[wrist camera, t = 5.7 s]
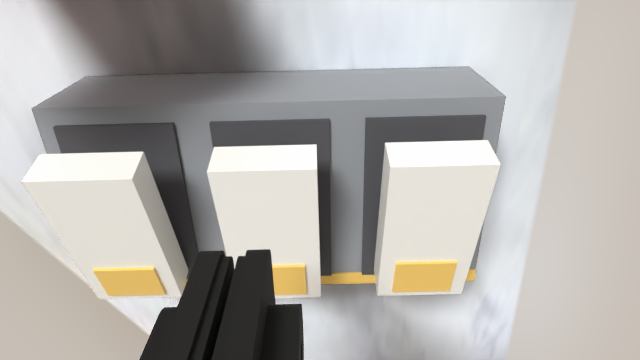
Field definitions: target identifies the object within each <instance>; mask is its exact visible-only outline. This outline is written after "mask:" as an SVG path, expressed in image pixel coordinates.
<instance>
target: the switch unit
mask: <svg viewBox="0 0 640 360" xmlns="http://www.w3.org/2000/svg"><path fill="white" fill-rule="evenodd" d="M505 99H506V96H505V95H504V94H502V93H501V92H500V91H499V90H497V89H496V88H495V87H494V86H492V85H491V84H490V83H489V82H488V81H486V80H485V79H484V78H483V77H481V76H480V75H479V74H478V73H476V72H475V71H474V70H473V69H472V68H470V67H430V68H391V69H352V70H313V71H274V72H235V73H196V74H157V75H118V76H86V77H84V78H82V79H81V80H79V81H77V82H76V83H74V84H72V85H71V86H69V87H67V88H65V89H64V90H62V91H60V92H59V93H57V94H55V95H54V96H52V97H50V98H48V99H47V100H45V101H43V102H42V103H40V104H38V105H37V106H35V107H33V108H31V109H32V112H33V115H34V118H35V121H36V124H37V126H38V129H39V132H40V135H41V138H42V141H43V144H44V147H45V150H46V153H47V154H65V153H105V152H144V154H145V157H146V159H147V162H148V165H149V167H150V170H151V172H152V175H153V178H154V180H155V183H156V186H157V188H158V191H159V194H160V196H161V199H162V201H163V204H164V207H165V209H166V212H167V215H168V217H169V220H170V223H171V225H172V228H173V230H174V233H175V236H176V238H177V241H178V244H179V246H180V249H181V251H182V254H183V257H184V259H185V262H186V265H187V267H188V274H187V278H186V282H185V286H186V283H187V281H188V278H189V276H190V273H191V270H192V268H193V265H194V263H195V260H196V258H197V255H198V253H199V252H200V251H222V250H223V251H224V253H225V256H226V251H225V247H224V243H223V239H222V234H221V230H220V226H219V222H218V217H217V213H216V209H215V205H214V201H213V196H212V192H211V188H210V184H209V179H208V175H207V170H208V166H209V163H210V159H211V156H212V152H213V149H214V147H233V146H273V145H312V144H317V174H318V205H319V237H320V269H321V285H328V284H369V283H375V275H374V262H375V250H376V239H377V228H378V217H379V205H380V194H381V183H382V172H383V160H384V149H385V143H391V142H431V141H471V140H488V141H489V143H490V145H491V147H492V149H493V151H494V153H495V155H496V149H497V144H498V138H499V133H500V127H501V121H502V116H503V110H504V104H505ZM483 223H484V222H483ZM482 228H483V225H482ZM482 228H481V232H480V235H479V238H478V242H477V245H476V248H475V251H474V255H473V258H472V261H471V265H470V268H469V271H468V274H467V278H466V281H474V279H475V273H476V270H475V268H476V262H477V257H478V251H479V245H480V240H481V234H482ZM184 288H185V287H184ZM91 289H92V288H91ZM92 290H93V289H92Z"/></svg>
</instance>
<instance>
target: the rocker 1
mask: <svg viewBox="0 0 640 360" xmlns="http://www.w3.org/2000/svg"><path fill="white" fill-rule="evenodd" d="M21 183H22V184H23V186H24V187H25V189H26V190H27V192H28V193H29V195H30V196H31V198H32V199H33V201H34V202H35V204H36V205H37V207H38V208H39V210H40V211H41V213H42V214H43V216H44V217H45V219H46V220H47V222H48V223H49V225H50V226H51V228H52V229H53V231H54V232H55V234H56V235H57V237H58V238H59V240H60V241H61V243H62V244H63V246H64V247H65V249H66V250H67V252H68V253H69V255H70V256H71V258H72V259H73V261H74V262H75V264H76V265H77V267H78V268H79V270H80V271H81V273H82V274H83V276H84V277H85V279H86V280H87V282H88V283H89V285H90V286H91V288H92V289H93V291H94V292H95V294H96V295H97V297H98V298H99V299H117V298H158V297H181V296H182V294H183V291H184V287H185V282H186V278H187V274H188V267H187V265H186V262H185V259H184V257H183V254H182V251H181V249H180V246H179V244H178V241H177V238H176V236H175V233H174V230H173V228H172V225H171V223H170V220H169V217H168V215H167V212H166V209H165V207H164V204H163V201H162V199H161V196H160V194H159V191H158V188H157V186H156V183H155V180H154V178H153V175H152V172H151V170H150V167H149V165H148V162H147V159H146V157H145V154H144V152H105V153H65V154H40V155H39V156H38V158H37V159H36V161H35V162H34V164H33V165H32V167H31V168H30V169H29V171H28V172H27V174H26V175H25V177H24V178H23V180H22V181H21Z"/></svg>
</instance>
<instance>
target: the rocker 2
mask: <svg viewBox="0 0 640 360" xmlns="http://www.w3.org/2000/svg"><path fill="white" fill-rule="evenodd" d="M207 175H208V179H209V184H210V188H211V192H212V196H213V201H214V205H215V209H216V213H217V217H218V222H219V226H220V230H221V234H222V239H223V243H224V247H225V251H226V256H232V258H233V262H234V269H235V266H236V262H237V258H238V256H245V255H246V251H247V250H261V249H270V251H271V259H272V270H273V281H274V293H275V298H311V297H321V269H320V237H319V205H318V174H317V144H312V145H273V146H233V147H214V149H213V152H212V156H211V159H210V163H209V166H208V170H207Z"/></svg>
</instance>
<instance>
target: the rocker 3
mask: <svg viewBox="0 0 640 360" xmlns="http://www.w3.org/2000/svg"><path fill="white" fill-rule="evenodd" d="M500 166H501V164H500V162H499V160H498V158H497V156H496V155H495V153H494V151H493V149H492V147H491V145H490V143H489V141H488V140H471V141H431V142H391V143H385V149H384V160H383V172H382V183H381V194H380V205H379V217H378V228H377V239H376V250H375V262H374V275H375V283H376V290H377V296H393V295H434V294H462V291H463V288H464V284H465V281H466V278H467V274H468V271H469V268H470V265H471V261H472V258H473V255H474V251H475V248H476V245H477V242H478V238H479V235H480V232H481V228H482V225H483V222H484V218H485V215H486V212H487V209H488V205H489V202H490V199H491V195H492V192H493V189H494V186H495V182H496V179H497V176H498V172H499V169H500Z"/></svg>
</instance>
